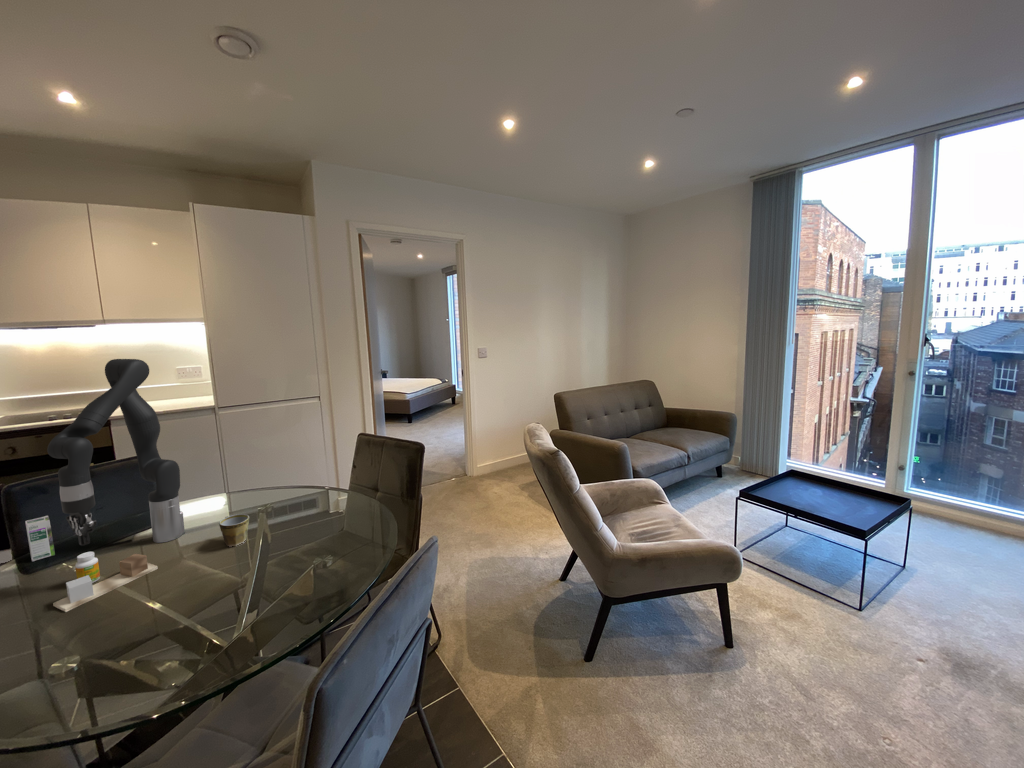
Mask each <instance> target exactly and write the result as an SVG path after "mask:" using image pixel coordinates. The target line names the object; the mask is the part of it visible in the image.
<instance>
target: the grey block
mask: <svg viewBox="0 0 1024 768" xmlns="http://www.w3.org/2000/svg"><path fill="white" fill-rule="evenodd" d="M92 585H93V583H92V580H91V578H90V577H89V575H87V576H84V577H81V578H78V579H77V578H76V579H73V580H69V581H67V582H65V586H66V593H67V597H68V598H69V600H70V603H74V602H77V601H79V600H82V599H85V598H87V597H90V596H93V595H94V593H93V586H92Z"/></svg>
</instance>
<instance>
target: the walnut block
mask: <svg viewBox="0 0 1024 768" xmlns="http://www.w3.org/2000/svg"><path fill="white" fill-rule="evenodd" d="M147 563H148V558H147V555H146V554H138V553H133V554H132V555H129V556H128V557H125V558H124V559H122V560H120V561H119V562H118V564H119V572H120V573H121V575H124V576H130V577H133V576H135V575H137V574H139V573H141V572H142V571H144V570H146V569H148V565H147Z"/></svg>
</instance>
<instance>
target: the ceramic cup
mask: <svg viewBox="0 0 1024 768" xmlns="http://www.w3.org/2000/svg"><path fill="white" fill-rule="evenodd" d="M249 523H250V516H249V515H248V514H244V513H237V514H232V515H229V516H225V517H224V518H221V520H220V521H219V523H218V526H219V530H220V531H221V534H222V537H223V540H224V544H225V546H227V547H228V546H229V547H228V548H233V547H232V546H236V547H238V546H237V545H239V544H241V543H243V544H245V542H246V541H247V538H248V537H247V536H248V529H249ZM245 540H246V541H245ZM244 541H245V542H244ZM241 545H242V544H241ZM239 546H240V545H239Z"/></svg>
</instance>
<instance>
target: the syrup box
mask: <svg viewBox="0 0 1024 768" xmlns="http://www.w3.org/2000/svg"><path fill="white" fill-rule="evenodd" d="M24 522H25V528H26V535H27V540H28V541H27V542H28V546H29V547H28V548H29V552H30V558H31V562H35V561H39V560H42V559H45V558H50V557H53V556H55V555H56V552H55V545H54V538H53V534H52V526H51V521H50V517H49V515H45V516H41V517H36V518H33V519H28V520H25V521H24Z"/></svg>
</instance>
